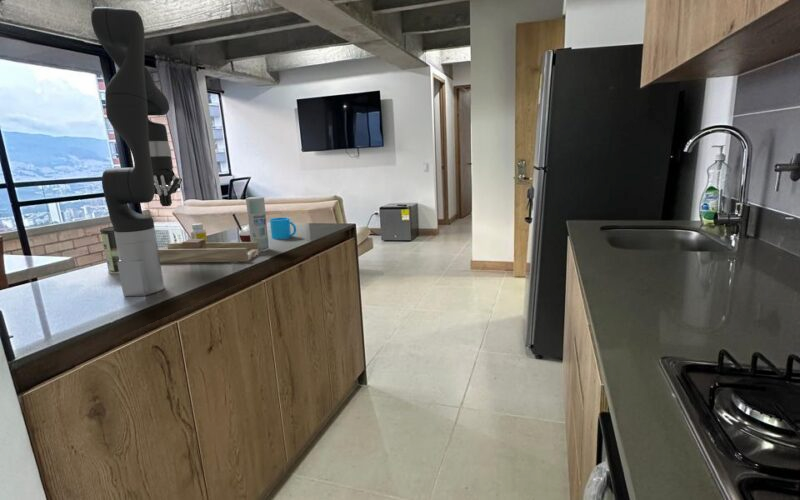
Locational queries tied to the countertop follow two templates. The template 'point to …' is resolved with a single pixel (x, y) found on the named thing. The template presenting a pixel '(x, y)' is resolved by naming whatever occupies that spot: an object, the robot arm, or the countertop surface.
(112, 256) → the coffee can
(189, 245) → the walnut block
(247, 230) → the cocoa
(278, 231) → the mug
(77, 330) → the countertop surface
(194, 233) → the supplement bottle
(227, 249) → the frame
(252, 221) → the spray can
